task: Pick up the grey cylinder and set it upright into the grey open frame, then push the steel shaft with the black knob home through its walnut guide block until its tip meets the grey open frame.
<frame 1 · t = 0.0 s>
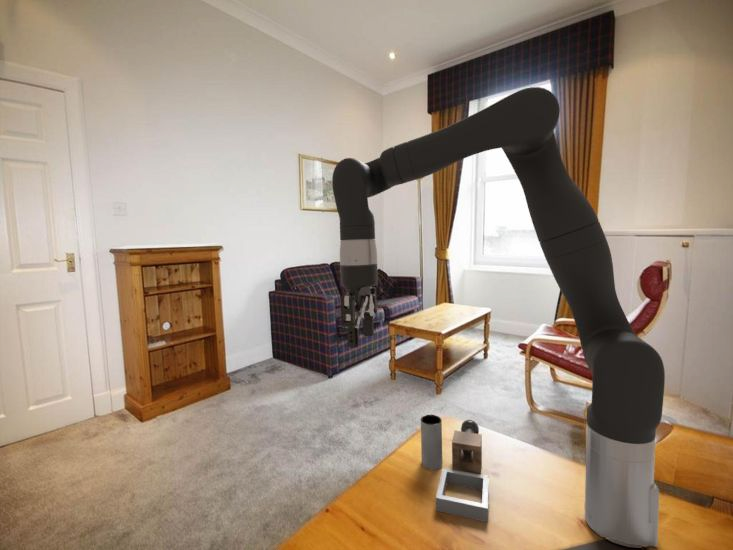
hand: (361, 341, 72), 29 cm above the table, tool pointing down, fingers open, 8 cm apart
shaft: (468, 438, 81), point 4 cm above the table, slide at 5.0 cm
guide block: (467, 467, 77), on the table
grey cylinder: (432, 464, 78), on the table
grey open frame: (463, 498, 67), on the table
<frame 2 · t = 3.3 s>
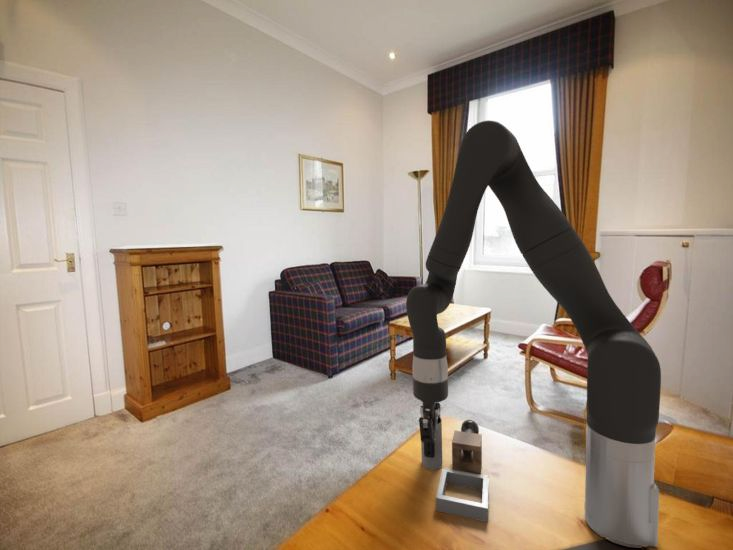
hand: (431, 449, 78), 3 cm above the table, tool pointing down, fingers closed on grey cylinder, 4 cm apart
grey cylinder: (432, 464, 78), on the table, touching gripper
everything else where it was.
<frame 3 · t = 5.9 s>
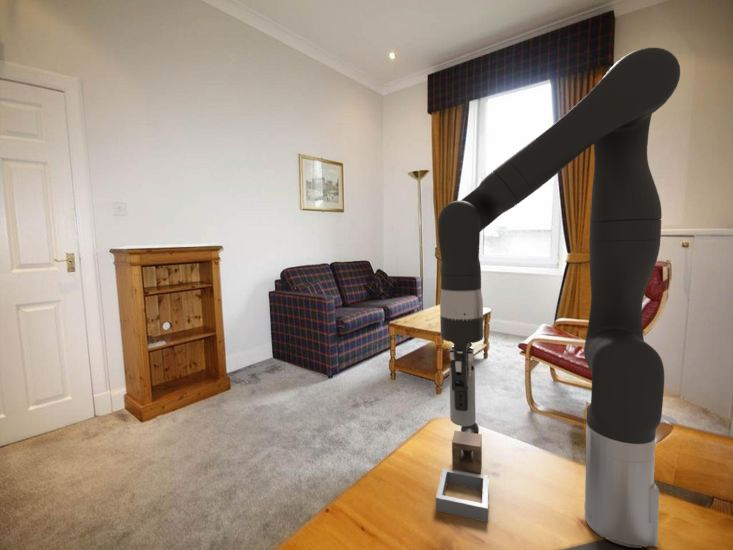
hand: (462, 403, 66), 19 cm above the table, tool pointing down, fingers closed on grey cylinder, 4 cm apart
grey cylinder: (462, 421, 66), point 15 cm above the table, touching gripper
everything else where it was.
when the fingers open (5 cm above the table, at t = 8.8 s): grey cylinder drops 1 cm, resting in grey open frame.
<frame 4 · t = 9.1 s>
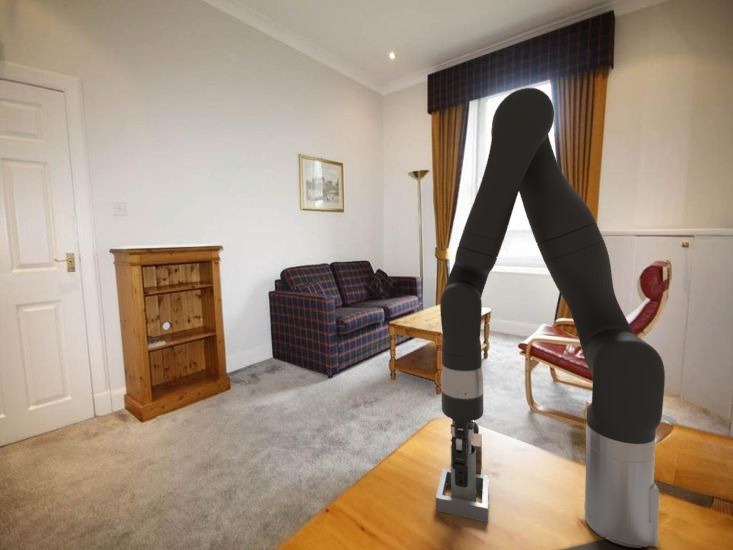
hand: (463, 473, 67), 5 cm above the table, tool pointing down, fingers open, 6 cm apart
grey cylinder: (463, 500, 67), resting in grey open frame
everything else where it was.
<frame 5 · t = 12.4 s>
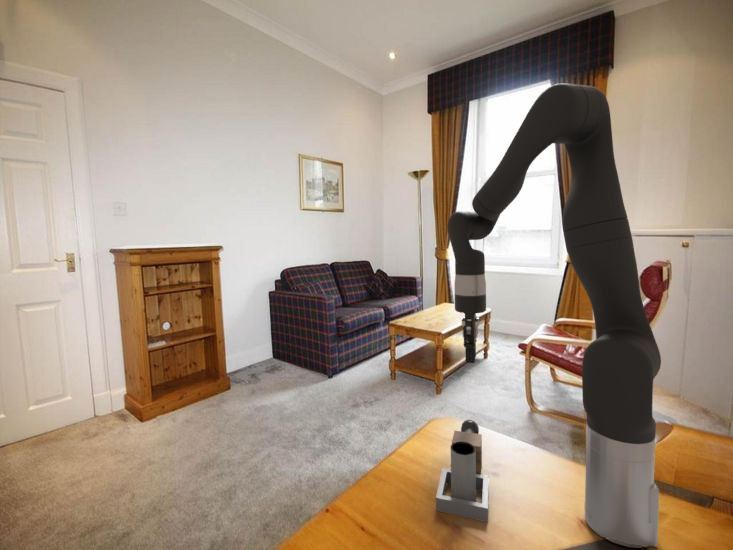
hand: (470, 359, 89), 19 cm above the table, tool pointing down, fingers open, 3 cm apart
nothing on the table moved.
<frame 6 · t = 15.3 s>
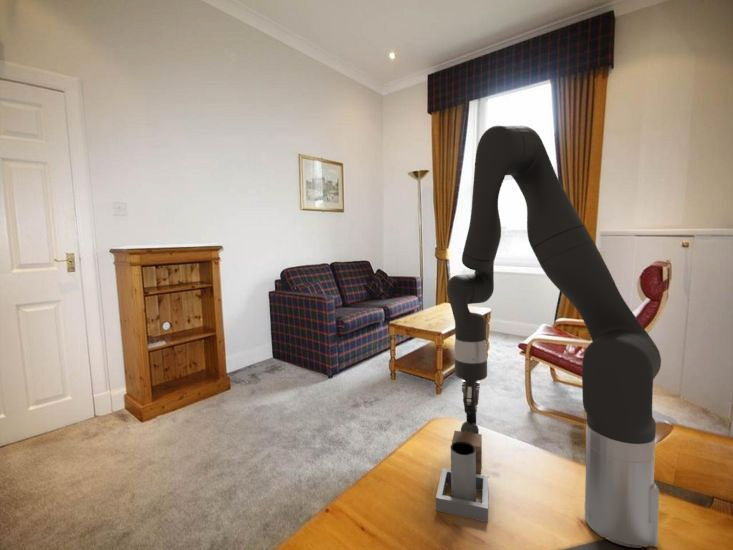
hand: (471, 425, 86), 4 cm above the table, tool pointing down, fingers closed
shaft: (468, 439, 80), point 4 cm above the table, slide at 4.4 cm, touching gripper
everything else where it was.
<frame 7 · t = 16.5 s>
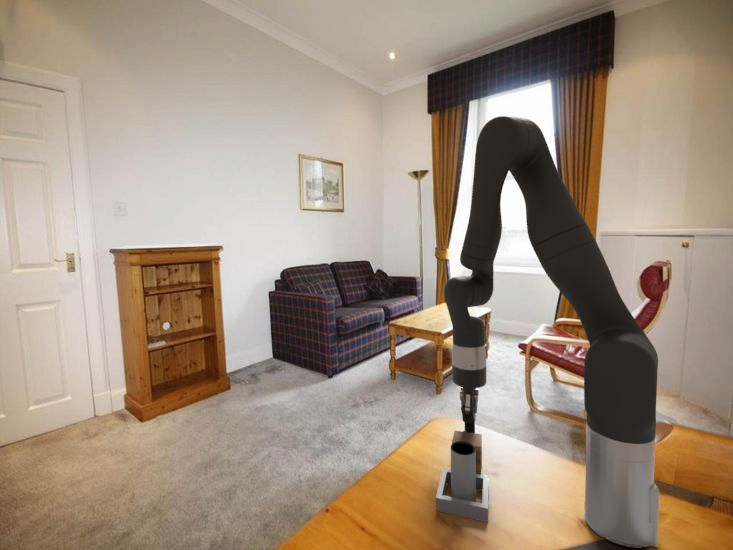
hand: (469, 434, 82), 4 cm above the table, tool pointing down, fingers closed
shaft: (467, 450, 76), point 4 cm above the table, slide at 0.0 cm, touching gripper
everything else where it was.
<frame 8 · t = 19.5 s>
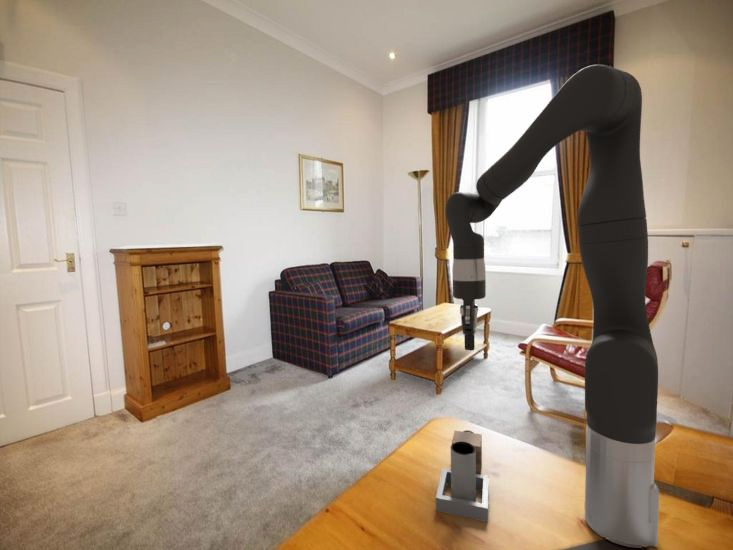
hand: (469, 349, 85), 23 cm above the table, tool pointing down, fingers closed
shaft: (467, 450, 76), point 4 cm above the table, slide at 0.0 cm
everything else where it was.
at the end: grey cylinder 0.1 cm off-centre on the grey open frame, point 0.0 cm above the grey open frame's base; grey cylinder tilted 0°; shaft slide at 0.0 cm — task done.
